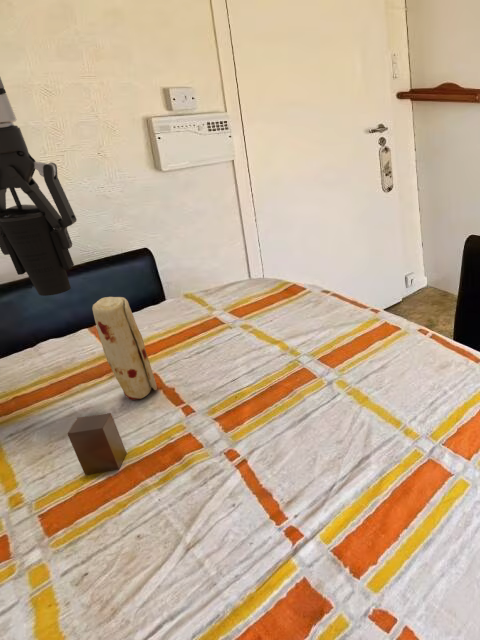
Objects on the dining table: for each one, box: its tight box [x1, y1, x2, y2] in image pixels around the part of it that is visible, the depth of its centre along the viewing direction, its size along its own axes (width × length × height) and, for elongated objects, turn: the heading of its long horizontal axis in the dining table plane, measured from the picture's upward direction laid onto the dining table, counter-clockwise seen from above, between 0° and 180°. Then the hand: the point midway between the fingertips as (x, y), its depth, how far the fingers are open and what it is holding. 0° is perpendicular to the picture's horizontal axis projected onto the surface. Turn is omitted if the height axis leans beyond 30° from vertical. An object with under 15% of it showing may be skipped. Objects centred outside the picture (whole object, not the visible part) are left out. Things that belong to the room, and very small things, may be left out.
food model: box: [91, 296, 158, 401], centre depth 120 cm, size 10×7×20 cm
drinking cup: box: [0, 187, 72, 297], centre depth 105 cm, size 8×8×20 cm
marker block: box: [66, 412, 127, 476], centre depth 101 cm, size 5×5×8 cm
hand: (46, 269), depth 107 cm, fingers closed on drinking cup, 6 cm apart
